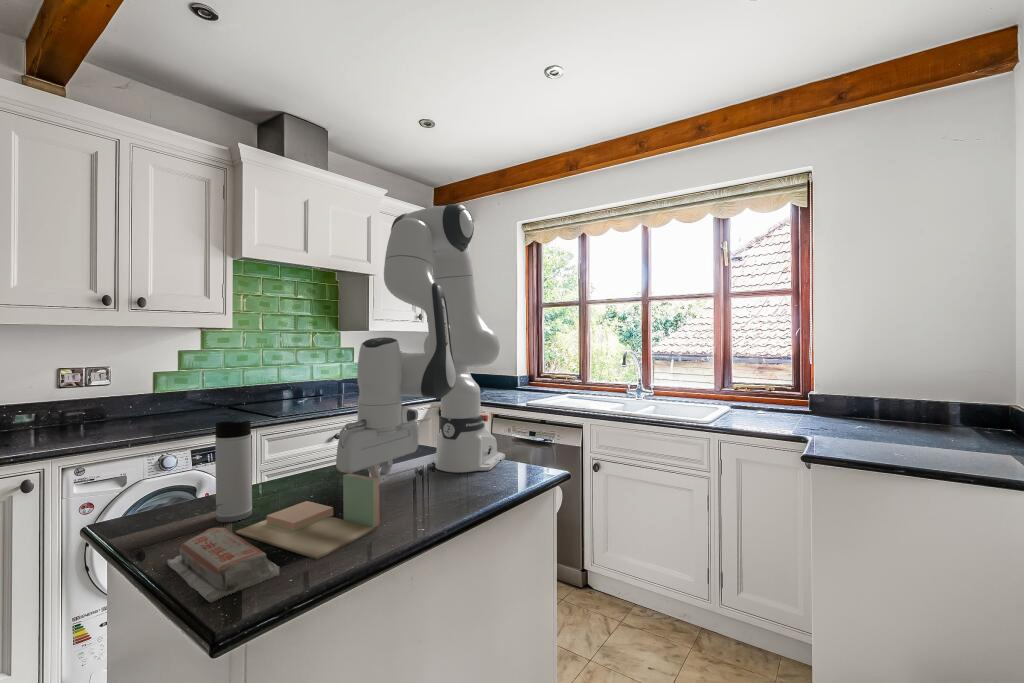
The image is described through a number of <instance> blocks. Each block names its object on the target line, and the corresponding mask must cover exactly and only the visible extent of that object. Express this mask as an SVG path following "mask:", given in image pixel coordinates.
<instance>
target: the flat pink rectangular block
mask: <svg viewBox="0 0 1024 683" xmlns="http://www.w3.org/2000/svg"><path fill="white" fill-rule="evenodd" d="M328 517H334V507H333V506H329V505H325V504H320V503H316V502H313V501H308V500H306V501H303V502H300V503H296V504H294V505H292V506H289V507H286V508H284V509H280V510H279V511H275V512H273V513H270V514H267V515H266V520H267V524H269V525H272V526H276V527H279V528H283V529H286V530H289V531H293V532H295V531H297V530H300V529H302V528H304V527H307V526H309V525H311V524H314V523H316V522H319V521H321V520H323V519H326V518H328Z"/></svg>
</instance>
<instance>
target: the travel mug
mask: <svg viewBox="0 0 1024 683" xmlns="http://www.w3.org/2000/svg"><path fill="white" fill-rule="evenodd" d="M251 422H252V420H243V421H235V420H222V421H217V422H216V421H215V430H214V431H215V437H214V439H215V445H214V446H215V448H214V450H215V454H214V455H215V458H214V459H215V512H216V514H215V518H216V521H217V522H219V523H225V522H226V523H235V522H239V521H238V520H240V521H243V520H245V519H247V518H249V517H250V516H252V514H253V489H252V488H253V487H252V486H253V484H252V483H253V482H252V481H253V479H252V478H253V476H252V471H253V470H252V463H253V462H252V437H251V436H252V431H251V429H252V425H251V424H252V423H251ZM242 519H243V520H242ZM234 521H235V522H234Z"/></svg>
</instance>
